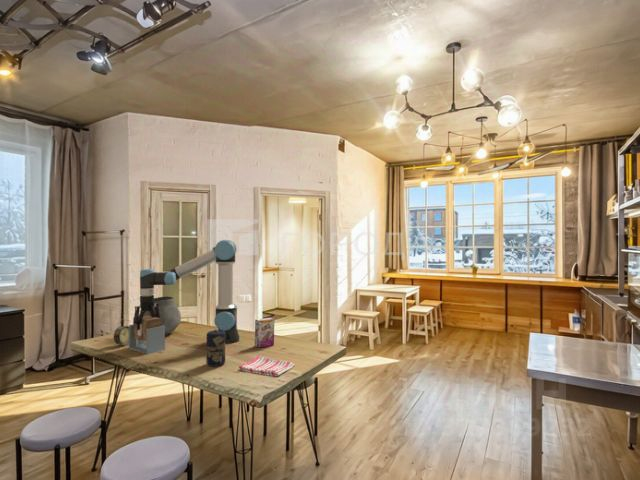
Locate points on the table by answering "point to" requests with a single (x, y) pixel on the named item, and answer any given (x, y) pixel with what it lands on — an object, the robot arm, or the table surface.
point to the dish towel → (266, 366)
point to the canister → (215, 348)
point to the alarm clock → (121, 335)
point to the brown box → (146, 326)
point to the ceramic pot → (167, 313)
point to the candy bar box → (264, 332)
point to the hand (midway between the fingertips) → (146, 333)
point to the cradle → (148, 340)
